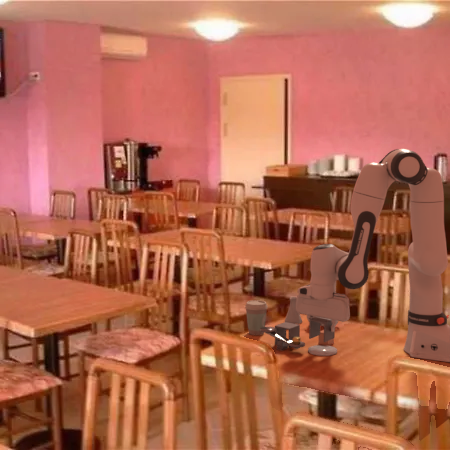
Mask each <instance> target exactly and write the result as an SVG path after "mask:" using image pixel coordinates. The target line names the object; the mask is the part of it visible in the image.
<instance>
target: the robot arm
mask: <svg viewBox="0 0 450 450" xmlns="http://www.w3.org/2000/svg"><path fill="white" fill-rule="evenodd" d="M394 182H400V183H405V184H407V185H408V186H409V190H410V197H409V198H410V199H409V200H410V201H409V203H410V205H409V207H410V228H411V235H412V242H411V243H410V244H409V246H408V250H407V267H408V280H409V281H408V282H409V307H408V311H407V334H406V339H405V343H404V347H403V351H404V352H405V353H407V354H409V356H410V357H411V358H416V359H417V358H418V359H424V360H430V361H431V360H432V361H438V362H439V361H441V362H446V363H450V325H449V324H448V319H449V316H450V314H447V315H446V314H445V313H444V311H443V292H444V290H443V282H442V274H443V273H444V272H445V271H446V270H447V267H448V265H449V262H448V261H449V259H448V250H447V238H446V230H445V197H444V196H445V194H444V192H445V191H444V186H443V180H442V175H441V173H440V171H439V170H437V169H435V168H432V167H427V166H426V164H425V163H424V161H423V159H422V157H421V156H420V154H419V153H417V152H415V151H413V150H410V149H408V148H400V149H399V148H396V149H393V150H391V151H389V152H388V153H386V155H384V156H383V158H381V160H379V162H369V163H367V164H366V163H365V164H364V165H363V167H362V168H361V170H360V172H359V175H358V177H357V179H356V181H355V185H354V188H353V191H352V194H351V199H350V208H349V211H350V213H351V217H352V221H353V222H352V223H353V234H352V239H351V243H350V247H349V251H344V250H341V249H340V248H338V247H337V246H335V245H334V244H332V243H323V244H319V245H316V246H315V247H314V248H313V249H312V252H311V255H310V256H311V257H310V274H311V277H310V281H309V284H306V285H304V286H303V285H302V286H301V287H298V288H297V296H296V297H297V298H296V311H297V313H300V315H301V314H302V315H306V320H307V321H308V324H310V319H311V318H312V317H313V316H316V317H321V318H326V319H331V320H332V323H333V324H332V326H329V331H330V332H334V331H336V326H337V325H338V323H339V322H347V321H348V320H349V319H350V318H351V312H350V311H351V309H350V299H349V297H348V296H347V295H346V294H345V293H338V292H337V291H336V290H337V287H336V286H337V281H338V282H339V283H340V285H342V286H343V287H344V288H346V289H348V290H357V289H360V288H362V287H363V286H365V284H366V283H367V282H368V280H369V276H370V275H369V273H370V272H369V266H368V258H369V252H370V249H371V245H372V240H373V236H374V232H375V229H376V227H377V223H378V221H379V217H380V216H381V213H382V210H383V207H384V204H385V201H386V197H387V192H388V190H389V188H390V187H391V185H392V184H393V183H394Z"/></svg>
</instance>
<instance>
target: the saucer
mask: <svg viewBox="0 0 450 450" xmlns="http://www.w3.org/2000/svg"><path fill="white" fill-rule="evenodd" d="M307 351H308V353H309V354H311V355H313V356H320V357H329V356H333V355H337V354H338V349H337V348H336V347H335V346H333V345H329V346H328V345H321V344H318V345H316V344H315V345H311V346H309V347H308V350H307Z"/></svg>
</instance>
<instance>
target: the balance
mask: <svg viewBox="0 0 450 450" xmlns="http://www.w3.org/2000/svg"><path fill="white" fill-rule="evenodd" d="M260 331H261V332H264V334H267V335H269V336H271V337H272V338H274V339H275V338H276V339H278V340H277V345H276V351H281V352H283V351H285V350H287V349H289V346H290V348H293V349H295V350H299V349H300V348H304V347H305V346H306V343H305V342H304V341H302V340H301V336H300V337H293V338H292V341H291V340H289V338H287V337H286V338H285V337H283V336H282V335H280V334H278V333H276V331H277V328H275V326H274V327H273V326H265V327H262V328H260Z"/></svg>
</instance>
